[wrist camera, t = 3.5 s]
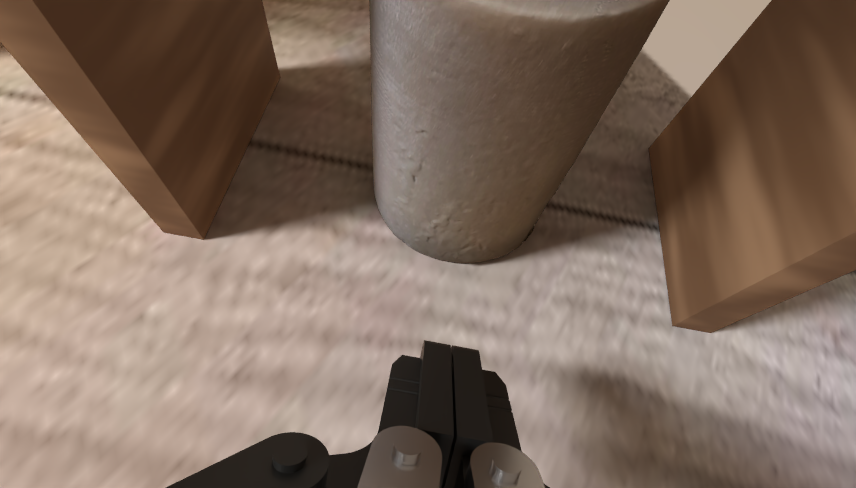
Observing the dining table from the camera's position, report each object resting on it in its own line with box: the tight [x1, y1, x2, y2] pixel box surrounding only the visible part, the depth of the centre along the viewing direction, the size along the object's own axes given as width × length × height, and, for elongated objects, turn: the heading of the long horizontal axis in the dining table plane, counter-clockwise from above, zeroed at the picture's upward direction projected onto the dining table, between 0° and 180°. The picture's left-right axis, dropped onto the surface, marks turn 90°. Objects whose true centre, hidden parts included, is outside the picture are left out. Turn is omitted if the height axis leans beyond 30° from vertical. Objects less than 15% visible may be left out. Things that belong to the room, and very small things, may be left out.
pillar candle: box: [369, 0, 669, 263], centre depth 18 cm, size 10×10×15 cm
